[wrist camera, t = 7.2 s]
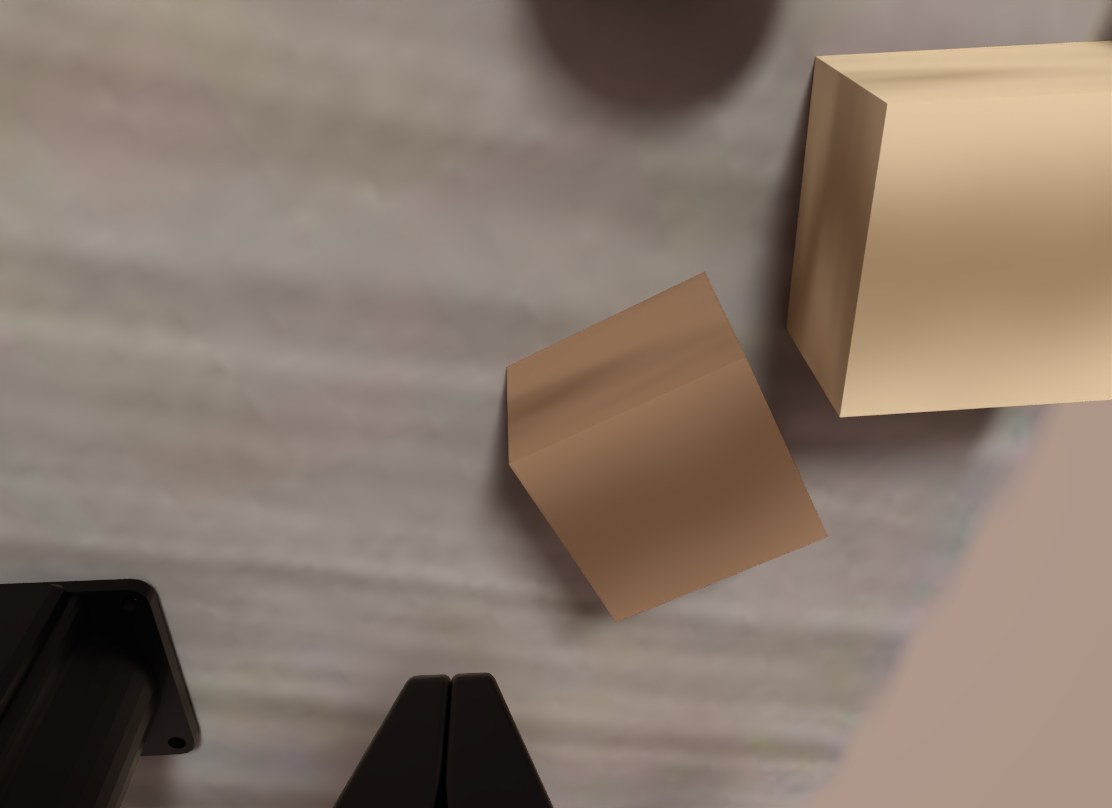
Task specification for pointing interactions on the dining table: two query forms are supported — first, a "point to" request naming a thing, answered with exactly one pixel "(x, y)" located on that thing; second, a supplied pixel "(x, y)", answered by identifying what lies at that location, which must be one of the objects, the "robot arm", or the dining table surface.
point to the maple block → (957, 229)
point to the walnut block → (656, 452)
